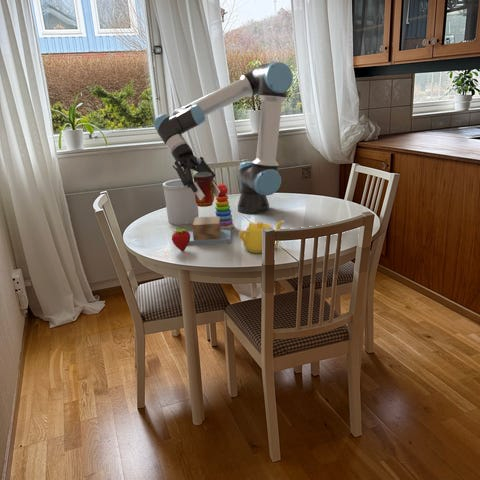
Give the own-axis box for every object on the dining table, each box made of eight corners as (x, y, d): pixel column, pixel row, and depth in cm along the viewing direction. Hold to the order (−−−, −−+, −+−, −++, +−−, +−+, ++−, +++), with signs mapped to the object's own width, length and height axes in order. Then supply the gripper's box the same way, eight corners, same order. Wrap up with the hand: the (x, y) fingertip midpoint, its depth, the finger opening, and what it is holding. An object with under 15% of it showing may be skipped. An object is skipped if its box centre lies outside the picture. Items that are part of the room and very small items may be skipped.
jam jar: (198, 202, 169) (196, 171, 165) (216, 202, 168) (214, 171, 164) (193, 207, 163) (190, 175, 159) (211, 207, 161) (209, 174, 157)
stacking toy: (236, 225, 184) (234, 182, 178) (229, 231, 177) (227, 186, 171) (219, 224, 187) (216, 181, 181) (212, 230, 180) (208, 186, 173)
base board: (231, 232, 175) (230, 229, 175) (230, 243, 164) (230, 239, 163) (186, 234, 176) (186, 231, 175) (183, 245, 164) (182, 241, 164)
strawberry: (169, 253, 157) (166, 227, 153) (183, 246, 163) (180, 221, 159) (181, 256, 154) (178, 229, 150) (195, 249, 159) (193, 223, 156)
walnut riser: (221, 230, 174) (220, 216, 172) (219, 238, 164) (218, 223, 162) (196, 231, 174) (194, 217, 172) (193, 240, 165) (192, 225, 163)
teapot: (272, 257, 148) (272, 230, 145) (236, 253, 153) (235, 227, 150) (284, 244, 160) (284, 218, 157) (251, 241, 165) (250, 216, 162)
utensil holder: (194, 225, 187) (191, 185, 181) (162, 225, 190) (157, 186, 184) (203, 216, 201) (200, 178, 195) (173, 215, 204) (169, 178, 198)
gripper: (196, 152, 176) (225, 196, 171) (155, 159, 163) (185, 207, 158) (203, 139, 171) (234, 185, 165) (161, 145, 158) (193, 195, 152)
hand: (210, 195), depth 162 cm, fingers closed on jam jar, 7 cm apart
